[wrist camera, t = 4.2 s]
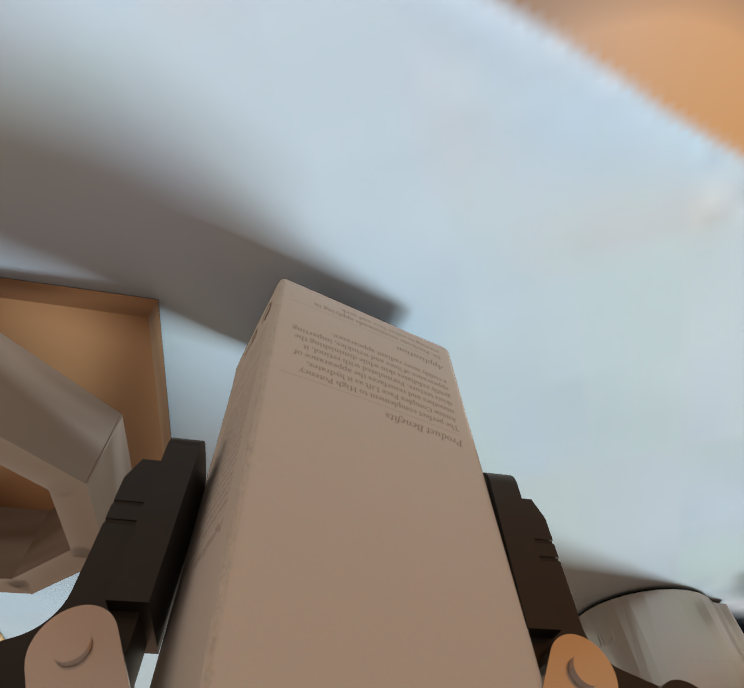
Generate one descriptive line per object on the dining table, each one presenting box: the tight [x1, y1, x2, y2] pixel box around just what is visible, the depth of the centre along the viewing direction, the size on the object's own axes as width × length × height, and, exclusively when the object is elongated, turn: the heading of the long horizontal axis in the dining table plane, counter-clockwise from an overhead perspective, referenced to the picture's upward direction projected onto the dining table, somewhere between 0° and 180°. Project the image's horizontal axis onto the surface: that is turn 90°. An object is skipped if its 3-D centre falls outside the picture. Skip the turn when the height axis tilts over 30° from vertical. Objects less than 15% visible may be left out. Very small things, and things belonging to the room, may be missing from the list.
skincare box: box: [150, 279, 542, 688], centre depth 11 cm, size 6×4×12 cm
